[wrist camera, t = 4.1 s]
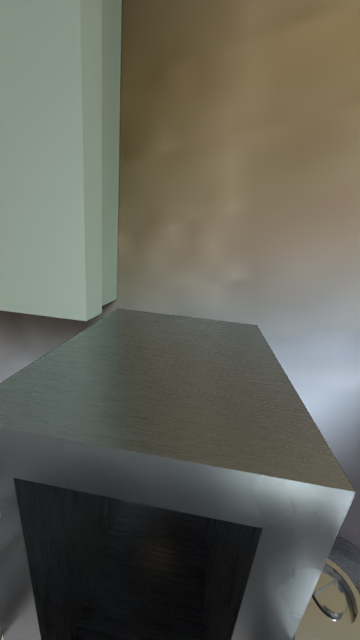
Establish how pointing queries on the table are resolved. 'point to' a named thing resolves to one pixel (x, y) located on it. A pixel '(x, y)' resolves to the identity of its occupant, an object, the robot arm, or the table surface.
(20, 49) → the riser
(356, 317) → the table surface
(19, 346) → the table surface
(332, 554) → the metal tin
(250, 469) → the housing
